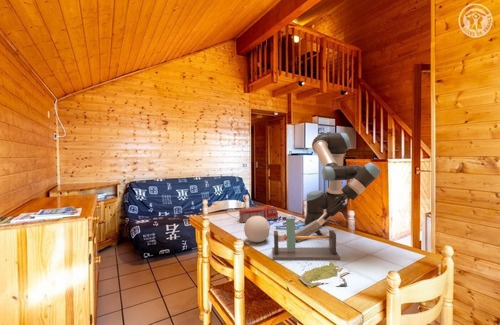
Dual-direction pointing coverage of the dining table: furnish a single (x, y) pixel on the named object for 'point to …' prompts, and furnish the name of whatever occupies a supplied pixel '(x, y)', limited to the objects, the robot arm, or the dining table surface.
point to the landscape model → (322, 275)
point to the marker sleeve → (290, 233)
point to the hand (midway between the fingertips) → (318, 223)
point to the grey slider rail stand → (306, 249)
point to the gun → (309, 230)
